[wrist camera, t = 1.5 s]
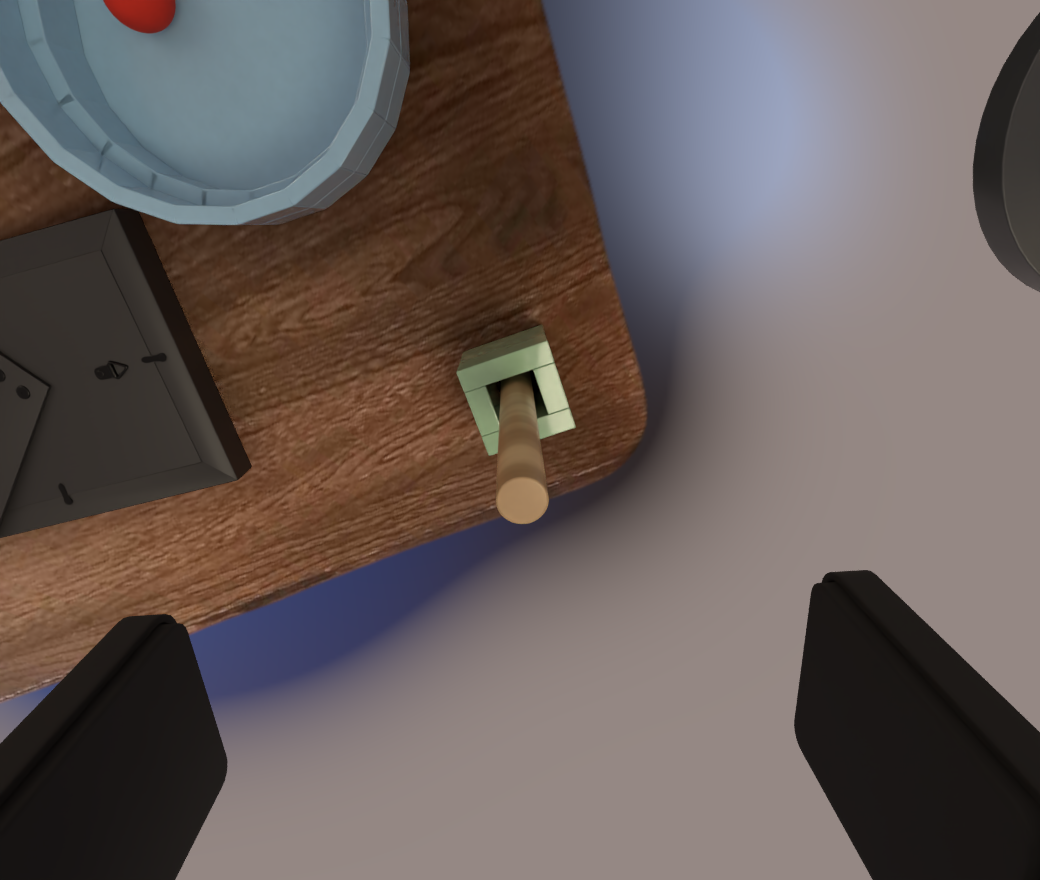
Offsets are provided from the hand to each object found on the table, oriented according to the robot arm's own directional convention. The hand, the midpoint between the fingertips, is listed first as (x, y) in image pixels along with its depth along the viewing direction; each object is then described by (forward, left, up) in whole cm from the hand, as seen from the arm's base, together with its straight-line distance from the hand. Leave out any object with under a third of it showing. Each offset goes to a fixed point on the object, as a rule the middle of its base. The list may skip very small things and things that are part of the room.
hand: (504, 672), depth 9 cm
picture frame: (+12, -26, -28) cm, 40 cm away
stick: (+2, +1, -28) cm, 28 cm away
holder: (+2, +1, -28) cm, 28 cm away
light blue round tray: (-10, -18, -28) cm, 34 cm away
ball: (-10, -21, -26) cm, 35 cm away
